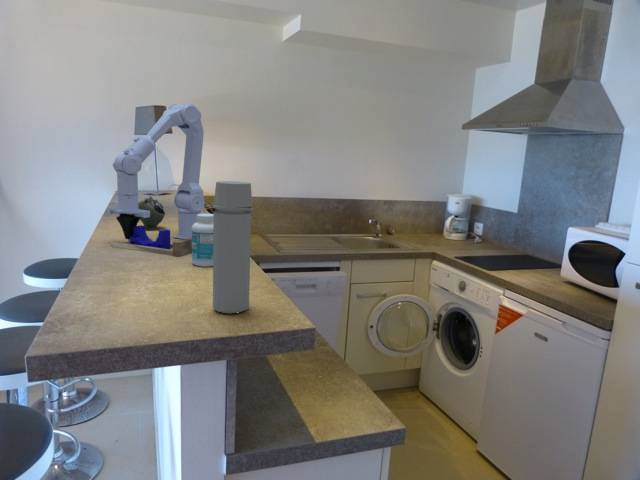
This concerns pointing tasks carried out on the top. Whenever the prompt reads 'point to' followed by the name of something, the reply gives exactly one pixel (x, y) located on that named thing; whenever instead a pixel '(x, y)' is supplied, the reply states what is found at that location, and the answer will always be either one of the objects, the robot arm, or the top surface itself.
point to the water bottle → (231, 246)
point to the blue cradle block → (144, 240)
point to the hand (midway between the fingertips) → (129, 238)
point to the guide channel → (178, 248)
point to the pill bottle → (202, 241)
